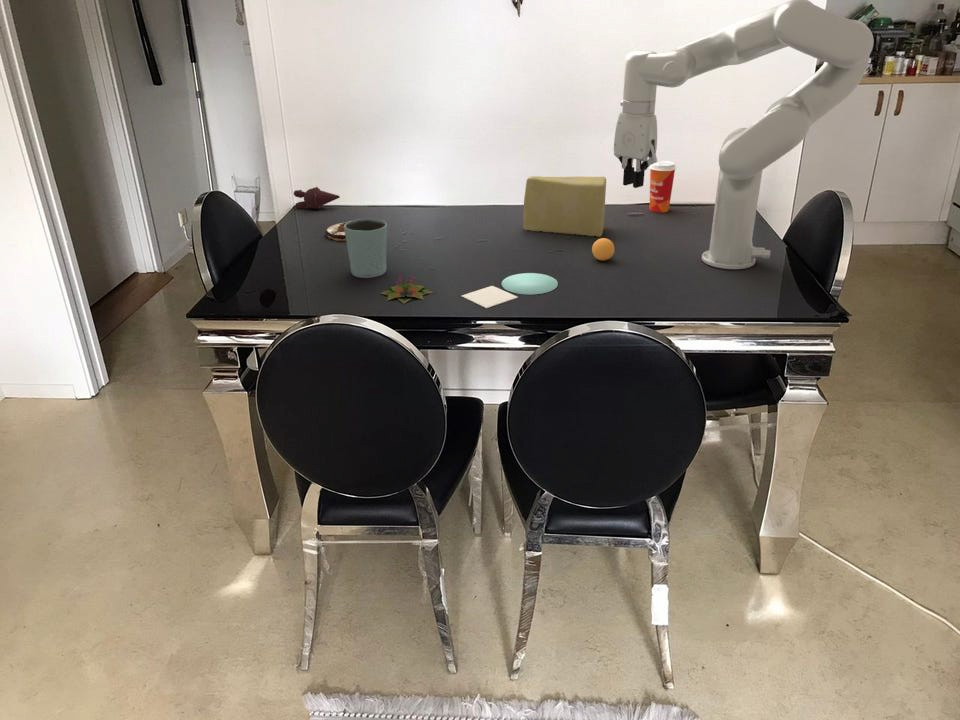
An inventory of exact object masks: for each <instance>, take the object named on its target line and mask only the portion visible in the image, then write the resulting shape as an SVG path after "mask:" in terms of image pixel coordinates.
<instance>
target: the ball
mask: <svg viewBox="0 0 960 720" xmlns="http://www.w3.org/2000/svg"><path fill="white" fill-rule="evenodd" d="M591 252H592V255H593V256H594V258H595V259H597V260H598V261H603V262H604V261H607V260H610V259H611V258H612V257H613V256H614V253H615V245H614V243H613V241H612V240H610V239H609V238H606V237H605V238H604V237H602V238H601V237H600V238H598V239H597V240H596V241H595V242H593V244H592V247H591Z"/></svg>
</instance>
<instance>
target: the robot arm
mask: <svg viewBox="0 0 960 720" xmlns="http://www.w3.org/2000/svg"><path fill="white" fill-rule="evenodd" d="M874 40H875V39H874V36H873V33H872V31H871V29H870V28H869V27H868V25H866V24H865V23H864V22H862V21H859V20H857V19H850V18H847V17H845V16H842V15H839V14H836V13H835V12H831V11H829V10H826V9H824V8H821V6H818V5H816V4H814V3H813V2H811V1H810V0H789V1H787V2H784V3H781V4H779V5H777V6H775V7H772V8H770V9H767V10H765V11H762V12H760V13H757V14H755V15H754V14H753V15H752V16H750V17H747V18H744V19H741V20H740V21H737V22H735V23H732V24H730V25H728V26H726V27H724V28H722V29H720V30H719V31H716V32H714V33H711V34H710V35H707V36H704V37H702V38H700V39H697V40H695V41H691V42H690V43H687V44H685V45H681V46H679V47H677V48H675V49H672V50H670V51H669V52H665V53H664V52H662V53H657V52H656V51H652V50H634V51H630V52H628V53H627V54H626V57H625V61H624V78H623V79H624V80H623V92H622V94H623V95H622V100H621V101H620V104H619V105H620V107H622V111H621V112H619V114H618V117H617V121H616V125H615V132H614V139H613V154H614V156H615V158H617V159H618V161H619V162H620V164H621V169H623V178H622V185H623V186H629V185H632V188H634V189H638V188H642V187H643V186H644V183H645V171H647V170H648V168H649V167H650V166H651V164H654V163H656V162H657V161H658V159H657V158H658V157H657V155H656V154H657V149H658V148H657V146H658V121H657V115H656V114H655V111H656V99H657V88H658V86H659V87H664V88H669V89H670V88H671V89H672V88H677V87H680V86H682V85H683V84H685V83H686V82H687V81H688V80H690V79H692V78H696V77H698V76H700V75H703V74H705V73H709V72H710V71H713V70H716V69H720V68H723V67H726V66H727V67H728V66H736V65H742V64H745V63H749V62H751V61H753V60H756V59H759V58H760V57H761V58H762V57H763V56H766V55H768V54H771V53H774V52H776V51H779V50H782V49H785V48H788V47H789V48H792V49H793V50H796V51H799V52H800V53H803V54H805V55H808V56H810V57H812V58H815V59H817V60H819V61H822V62H823V64H822V65H821V66H820V67H819V69H817V71H815V72H814V73H813V74H812V75H810V76H809V77H808V78H806V79H805V80H804V81H803V82H801V83H800V84H799V85H798V86H796V87H795V88H794V89H792V90H791V91H790V92H788V93H787V94H785V95H784V96H782V97H780V98H779V99H777V100H776V101H775V102H773V103H772V104H770V106H769V107H768V108H767V110H766V111H765V113H764V114H763V115H762V116H761V117H759V118H758V119H756V120H755V121H754V122H753V123H751V124H750V125H749V126H747V127H740V128H737V129H734V130H733V131H731V132H730V133H729V134H728V135H727V137H725V139H724V141H723V142H722V145H721V147H720V150H719V154H718V166H719V170H718V179H717V187H716V193H715V194H716V196H715V201H714V210H713V218H712V225H711V234H710V241H709V248H708V250H705V251H704V252H702V254H701V260H702V261H703V263H704V264H706V265H709V266H710V267H714V268H717V269H718V268H719V269H725V270H743V269H744V270H745V269H748V268H751V267H753V266H754V265H755V264H756V258H762V259H770V257H771V251H772V250H769V249H766V248H765V247H755V246H754V245H753V234H754V230H755V229H754V227H755V222H756V215H757V208H758V202H759V198H760V197H759V196H760V189H761V183H762V176H763V171H764V169H767V168H768V167H769V166H770V165H772V164H773V163H775V162H776V161H778V160H780V159H781V158H782V157H783V156H785V155H786V154H788V153H789V152H791V151H792V150H793V149H795V148H796V147H797V146H798V145H799V144H800V143H801V142H802V141H803V140H804V139H805V138H806V136H807V134H808V133H809V130H810V127H811V126H813V124H815V123H816V122H817V121H819V120H820V119H821V118H823V117H824V116H825V115H827V114H828V113H829V112H831V111H832V110H833V109H834V108H836V107H837V106H839V105H840V104H841V103H842V102H843V101H845V100H846V99H847V98H848V97H849V96H850V95H851V94H852V93H853V92H854V91H855V89H856V88H857V86H858V85H859V84H860V82H861V81H862V79H863V78H864V75H865V72H866V70H867V68H868V64H869V61H870V60H869V59H870V55H871V53H872V51H873V47H874V42H875V41H874ZM634 160H635V161H636V162H635V167H634Z"/></svg>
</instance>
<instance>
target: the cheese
mask: <svg viewBox="0 0 960 720" xmlns="http://www.w3.org/2000/svg"><path fill="white" fill-rule="evenodd" d="M606 191H607V178H606V177H605V176H542V175H541V176H539V175H534V176H529V177H527V178H526V183H525V190H524V200H523V230H524V231H527V230H530V232H539V231H543V232H544V233H551V232H553V233H552V234H554V233H555V234H564V235H566V234H567V235H575V234H576V235H577V236H585V235H586V236H587V237H594V236H596V238H601V237H602V236H603V233H604V228H605V227H604V226H605V211H606V210H605V207H606V194H607V192H606ZM543 232H542V233H543Z"/></svg>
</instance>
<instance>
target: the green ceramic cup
mask: <svg viewBox="0 0 960 720" xmlns="http://www.w3.org/2000/svg"><path fill="white" fill-rule="evenodd" d="M348 221H349V222H347V223H346V224H345V225H344V230H345V235H346V241H345V242H346V248H347V254H348V259H349V262H350V266H349V267H350V273H351V275H352V276H353V277H356V278H361V279H362V278H363V279H369V278H378V277H380V276H383V275H384V274H386V272H387V254H388V253H387V248H388V247H387V236H388V224H387V222H386V221H385V220H382V219H378V218H359V219H354V220H348Z"/></svg>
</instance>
